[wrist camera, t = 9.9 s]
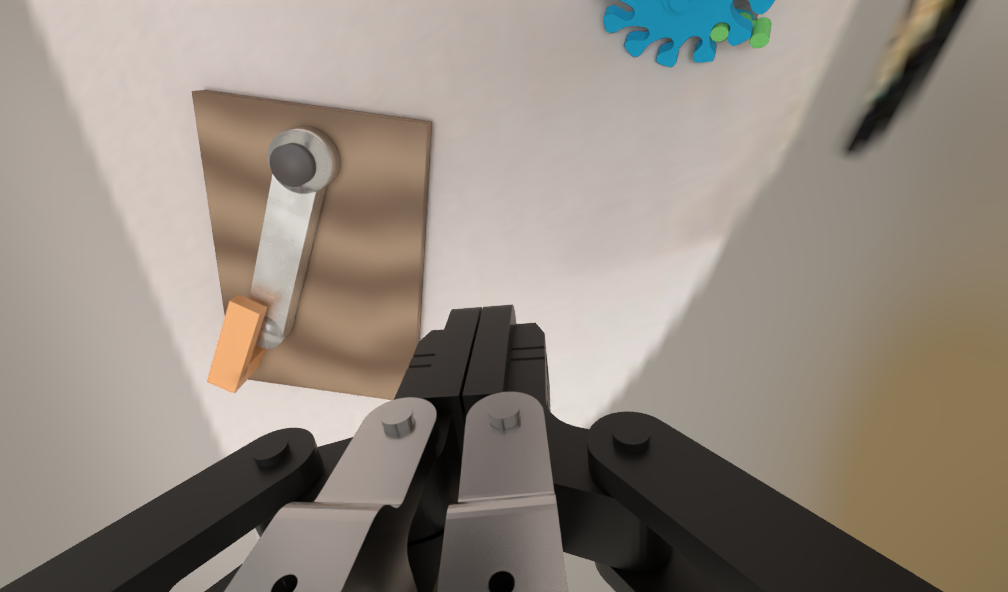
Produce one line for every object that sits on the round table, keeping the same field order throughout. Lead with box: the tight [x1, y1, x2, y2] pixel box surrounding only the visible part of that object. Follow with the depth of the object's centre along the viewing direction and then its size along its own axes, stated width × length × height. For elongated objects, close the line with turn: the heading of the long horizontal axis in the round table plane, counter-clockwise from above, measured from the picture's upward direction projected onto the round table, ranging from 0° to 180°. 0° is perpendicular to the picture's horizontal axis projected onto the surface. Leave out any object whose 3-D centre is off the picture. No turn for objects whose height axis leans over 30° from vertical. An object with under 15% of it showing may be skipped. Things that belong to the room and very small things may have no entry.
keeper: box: [207, 294, 267, 393], centre depth 41 cm, size 9×2×4 cm, turn 153°
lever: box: [249, 127, 340, 348], centre depth 38 cm, size 19×4×2 cm, turn 158°
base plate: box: [192, 90, 432, 400], centre depth 39 cm, size 25×17×5 cm
